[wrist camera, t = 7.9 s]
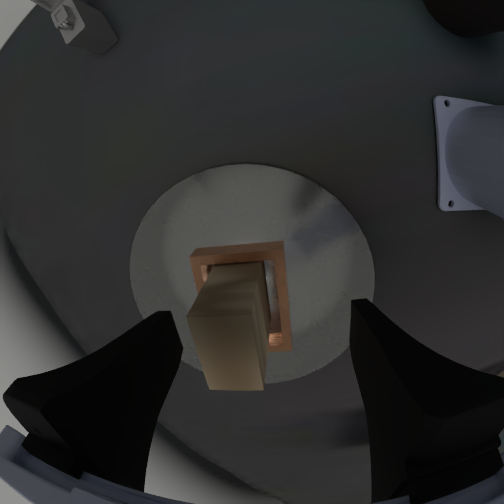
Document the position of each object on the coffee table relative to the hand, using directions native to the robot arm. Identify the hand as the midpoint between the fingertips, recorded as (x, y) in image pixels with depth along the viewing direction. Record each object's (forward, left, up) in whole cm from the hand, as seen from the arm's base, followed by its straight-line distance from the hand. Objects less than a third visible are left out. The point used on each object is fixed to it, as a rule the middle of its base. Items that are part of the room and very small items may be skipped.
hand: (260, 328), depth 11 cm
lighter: (+11, -20, -10) cm, 24 cm away
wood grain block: (+2, +3, -8) cm, 9 cm away
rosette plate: (+2, +3, -9) cm, 10 cm away
